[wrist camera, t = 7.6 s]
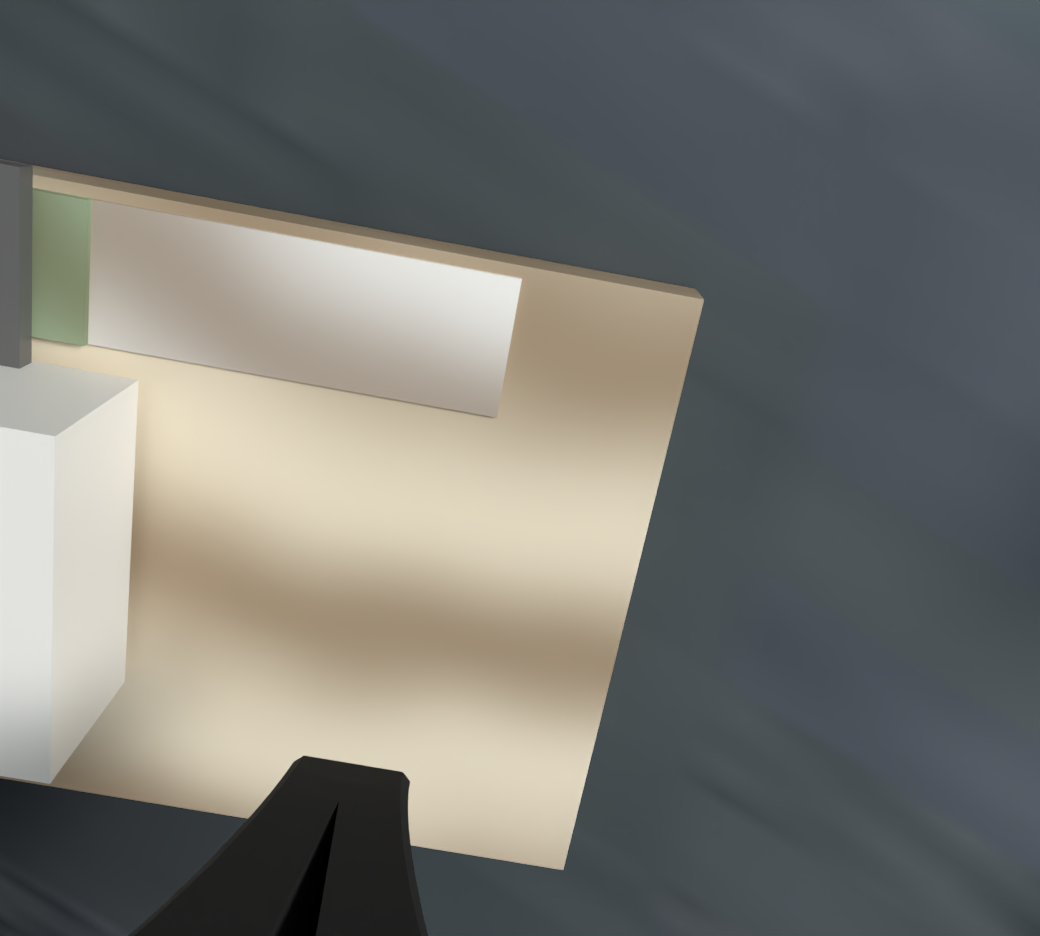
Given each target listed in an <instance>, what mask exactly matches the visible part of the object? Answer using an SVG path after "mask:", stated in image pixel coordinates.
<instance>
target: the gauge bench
mask: <svg viewBox="0 0 1040 936" xmlns="http://www.w3.org/2000/svg"><path fill="white" fill-rule="evenodd" d="M0 160H2V159H0ZM5 161H7V160H5ZM11 162H13V161H11ZM16 163H18V162H16ZM21 164H23V163H21ZM27 165H29V164H27ZM32 166H33V208H32V361H36V362H41V363H47V364H53V365H58V366H64V367H69V368H75V369H81V370H86V371H92V372H97V373H103V374H108V375H114V376H120V377H125V378H131V379H136V380H139V382H138V404H137V426H136V448H135V470H134V492H133V514H132V536H131V558H130V579H129V601H128V623H127V645H126V667H125V682H124V683H123V685H122V686H121V687H120V689H119V690H118V691H117V693H116V694H115V696H114V697H113V698H112V700H111V701H110V702H109V704H108V705H107V707H106V708H105V709H104V711H103V712H102V713H101V715H100V716H99V717H98V719H97V720H96V722H95V723H94V724H93V726H92V727H91V728H90V730H89V731H88V733H87V734H86V735H85V737H84V738H83V739H82V741H81V742H80V743H79V745H78V746H77V748H76V749H75V750H74V752H73V753H72V754H71V756H70V757H69V759H68V760H67V761H66V763H65V764H64V765H63V767H62V768H61V769H60V771H59V772H58V774H57V775H56V776H55V778H54V779H53V780H52V782H51V783H50V784H47V783H41V782H35V781H29V780H22V779H16V778H10V777H4V776H0V778H3V779H9V780H15V781H21V782H27V783H33V784H39V785H46V786H52V787H58V788H64V789H70V790H76V791H82V792H88V793H95V794H101V795H107V796H113V797H119V798H125V799H131V800H137V801H144V802H150V803H156V804H162V805H168V806H174V807H180V808H186V809H193V810H199V811H205V812H211V813H217V814H223V815H229V816H235V817H242V818H249V817H250V816H251V815H252V814H253V813H254V811H255V810H256V809H257V808H258V807H259V806H260V805H261V803H262V802H263V801H264V800H265V799H266V797H267V796H268V795H269V794H270V793H271V791H272V790H273V789H274V788H275V786H276V785H277V784H278V782H279V781H280V780H281V779H282V777H283V776H284V775H285V773H286V772H287V770H288V769H289V768H290V766H291V765H292V763H293V762H294V761H296V760H297V759H299V758H301V757H302V756H310V757H316V758H322V759H328V760H334V761H340V762H346V763H352V764H358V765H364V766H370V767H376V768H382V769H388V770H394V771H400V772H403V773H404V774H405V775H406V777H407V778H408V779H409V781H410V786H409V793H408V822H409V834H410V844H411V845H413V846H419V847H425V848H431V849H437V850H444V851H450V852H456V853H462V854H468V855H474V856H480V857H486V858H493V859H499V860H505V861H511V862H517V863H523V864H529V865H535V866H542V867H548V868H554V869H560V870H563V869H564V865H565V861H566V857H567V853H568V849H569V845H570V841H571V836H572V832H573V828H574V824H575V820H576V816H577V812H578V808H579V804H580V800H581V796H582V792H583V788H584V784H585V780H586V776H587V772H588V768H589V764H590V760H591V755H592V751H593V747H594V743H595V739H596V735H597V731H598V727H599V723H600V719H601V715H602V711H603V707H604V703H605V699H606V695H607V691H608V687H609V683H610V678H611V674H612V670H613V666H614V662H615V658H616V654H617V650H618V646H619V642H620V638H621V634H622V630H623V626H624V622H625V618H626V614H627V610H628V606H629V601H630V597H631V593H632V589H633V585H634V581H635V577H636V573H637V569H638V565H639V561H640V557H641V553H642V549H643V545H644V541H645V537H646V533H647V529H648V525H649V520H650V516H651V512H652V508H653V504H654V500H655V496H656V492H657V488H658V484H659V480H660V476H661V472H662V468H663V464H664V460H665V456H666V452H667V448H668V443H669V439H670V435H671V431H672V427H673V423H674V419H675V415H676V411H677V407H678V403H679V399H680V395H681V391H682V387H683V383H684V379H685V375H686V371H687V366H688V362H689V358H690V354H691V350H692V346H693V342H694V338H695V334H696V330H697V326H698V322H699V318H700V314H701V310H702V306H703V302H704V299H703V298H702V296H701V295H700V294H699V293H698V291H697V290H696V289H694V288H688V287H683V286H678V285H672V284H667V283H662V282H656V281H651V280H645V279H640V278H635V277H629V276H624V275H619V274H613V273H608V272H603V271H597V270H592V269H586V268H581V267H576V266H570V265H565V264H560V263H554V262H549V261H544V260H538V259H533V258H527V257H522V256H517V255H511V254H506V253H501V252H495V251H490V250H485V249H479V248H474V247H468V246H463V245H458V244H452V243H447V242H442V241H436V240H431V239H426V238H420V237H415V236H409V235H404V234H399V233H393V232H388V231H383V230H377V229H372V228H367V227H361V226H356V225H350V224H345V223H340V222H334V221H329V220H324V219H318V218H313V217H308V216H302V215H297V214H291V213H286V212H281V211H275V210H270V209H265V208H259V207H254V206H249V205H243V204H238V203H232V202H227V201H222V200H216V199H211V198H206V197H200V196H195V195H190V194H184V193H179V192H174V191H168V190H163V189H157V188H152V187H147V186H141V185H136V184H131V183H125V182H120V181H115V180H109V179H104V178H98V177H93V176H88V175H82V174H77V173H72V172H66V171H61V170H56V169H50V168H45V167H39V166H34V165H32Z"/></svg>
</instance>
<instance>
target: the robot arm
mask: <svg viewBox="0 0 1040 936" xmlns="http://www.w3.org/2000/svg"><path fill="white" fill-rule="evenodd" d="M409 786H410V781H409V779H408V778H407V777H406V775H405V774H404V773H403V772H400V771H394V770H388V769H382V768H376V767H370V766H364V765H358V764H352V763H346V762H340V761H334V760H328V759H322V758H316V757H310V756H302V757H301V758H299V759H297V760H296V761H294V762H293V763H292V765H291V766H290V768H289V769H288V770H287V772H286V773H285V775H284V776H283V777H282V779H281V780H280V781H279V782H278V784H277V785H276V786H275V788H274V789H273V790H272V791H271V793H270V794H269V795H268V796H267V797H266V799H265V800H264V801H263V802H262V803H261V805H260V806H259V807H258V808H257V809H256V810H255V811H254V813H253V814H252V815H251V816H250V817H249V818H248V819H247V821H246V822H245V823H244V824H243V825H242V826H241V827H240V828H239V830H238V831H237V832H236V833H235V834H234V835H233V836H232V837H231V838H230V839H229V840H228V841H227V842H226V843H225V844H224V845H223V846H222V847H221V849H220V850H219V851H218V852H217V853H216V854H215V855H214V856H213V857H212V858H211V859H210V860H209V861H208V862H207V863H206V864H205V865H204V866H203V867H202V868H201V869H200V870H199V871H198V872H197V873H196V874H195V875H194V876H193V877H192V878H191V879H190V880H189V881H188V882H187V883H186V884H185V885H184V886H183V887H182V888H180V889H179V890H178V891H177V892H176V893H175V894H174V895H173V896H172V897H171V898H170V899H169V900H168V901H167V902H166V903H164V904H163V905H162V906H161V907H160V908H159V909H158V910H157V911H156V912H155V913H154V914H153V915H152V916H151V917H150V918H148V919H147V920H146V921H145V922H144V923H143V924H142V925H140V926H139V927H138V928H137V929H136V930H135V931H133V932H132V933H131V934H130V935H129V936H428V934H427V930H426V926H425V922H424V917H423V913H422V908H421V903H420V898H419V893H418V888H417V883H416V878H415V873H414V866H413V860H412V853H411V844H410V834H409V822H408V793H409Z"/></svg>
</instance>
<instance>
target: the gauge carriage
mask: <svg viewBox="0 0 1040 936" xmlns="http://www.w3.org/2000/svg"><path fill="white" fill-rule="evenodd" d="M32 208H33V166H32V165H27V164H21V163H16V162H11V161H5V160H0V776H4V777H10V778H16V779H22V780H29V781H35V782H41V783H47V784H50V783H51V782H52V780H53V779H54V778H55V776H56V775H57V774H58V772H59V771H60V769H61V768H62V767H63V765H64V764H65V763H66V761H67V760H68V759H69V757H70V756H71V754H72V753H73V752H74V750H75V749H76V748H77V746H78V745H79V743H80V742H81V741H82V739H83V738H84V737H85V735H86V734H87V733H88V731H89V730H90V728H91V727H92V726H93V724H94V723H95V722H96V720H97V719H98V717H99V716H100V715H101V713H102V712H103V711H104V709H105V708H106V707H107V705H108V704H109V702H110V701H111V700H112V698H113V697H114V696H115V694H116V693H117V691H118V690H119V689H120V687H121V686H122V685H123V683H124V682H125V667H126V645H127V623H128V601H129V579H130V558H131V536H132V514H133V492H134V470H135V448H136V426H137V404H138V382H139V380H136V379H131V378H125V377H120V376H114V375H108V374H103V373H97V372H92V371H86V370H81V369H75V368H69V367H64V366H58V365H53V364H47V363H41V362H36V361H32Z"/></svg>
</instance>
